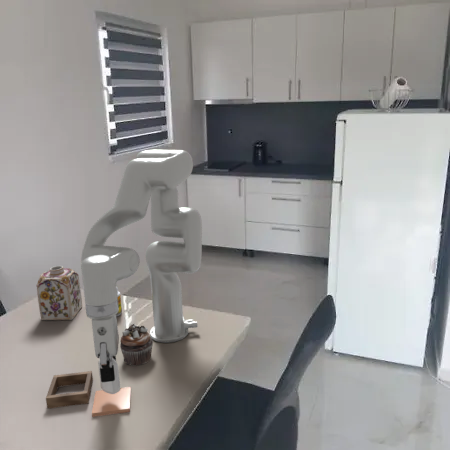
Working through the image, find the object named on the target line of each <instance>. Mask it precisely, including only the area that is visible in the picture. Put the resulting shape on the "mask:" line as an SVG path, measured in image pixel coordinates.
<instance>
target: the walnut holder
mask: <svg viewBox="0 0 450 450" xmlns="http://www.w3.org/2000/svg"><path fill="white" fill-rule="evenodd" d="M93 382H94V377H93V371H92V370H89V371H81V372H71V373H63V374H62V373H61V374H57V375H56V374H55V375H53V377H52V379H51V382H50V384H49V387H48V391H47V393H46V397H45V401H46V402H45V403H46V409H47V410H48V409H55V408H64V407H71V406H79V405H86V404H87V405H88V404H89V403H90V400H91V399H90V397H91V393H92V390H93V389H92V388H93ZM76 385H77V386H78V385H84V388H83V389H84V390H83V391H75V392H68V393H67V392H66V393H61V394H60V393H58V394H57V392H58V389H59V388H61V387H69V386H76Z"/></svg>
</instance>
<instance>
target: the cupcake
mask: <svg viewBox="0 0 450 450" xmlns="http://www.w3.org/2000/svg"><path fill="white" fill-rule="evenodd" d="M148 331H149V328H148V327H145V325H141V326H138V325H137V324H135V323H133V324H131V325H129V327H128V328H125V329H124V330H122V335H121V337H120V346H119V347H120V350H121V351H120V352H121V353H122V357H123V360H124V362H125V364H127V365H129V366H142V365H145V364H147V363H148V362H149V361H150V360H151V359H152V353H153V352H152V350H153V345H154V340H153V339H152V338H151V337H150V332H148Z"/></svg>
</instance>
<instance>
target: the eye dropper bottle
mask: <svg viewBox="0 0 450 450" xmlns="http://www.w3.org/2000/svg"><path fill="white" fill-rule="evenodd" d="M107 354H110V353H109V352H107ZM108 360H109V357H107V361H108ZM112 365H114V374H115V380H114V381H110V382H101V375H100V359H99V360H98V373H99V382H100V388H101V390H103V391H105V392H106V393H109V394H115V393H117V392H119V391H120V388H121V381H120V372H119V371H120V369H119V366H118V362H117V360H116V361H115V360H114V359H113V357H112Z"/></svg>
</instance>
